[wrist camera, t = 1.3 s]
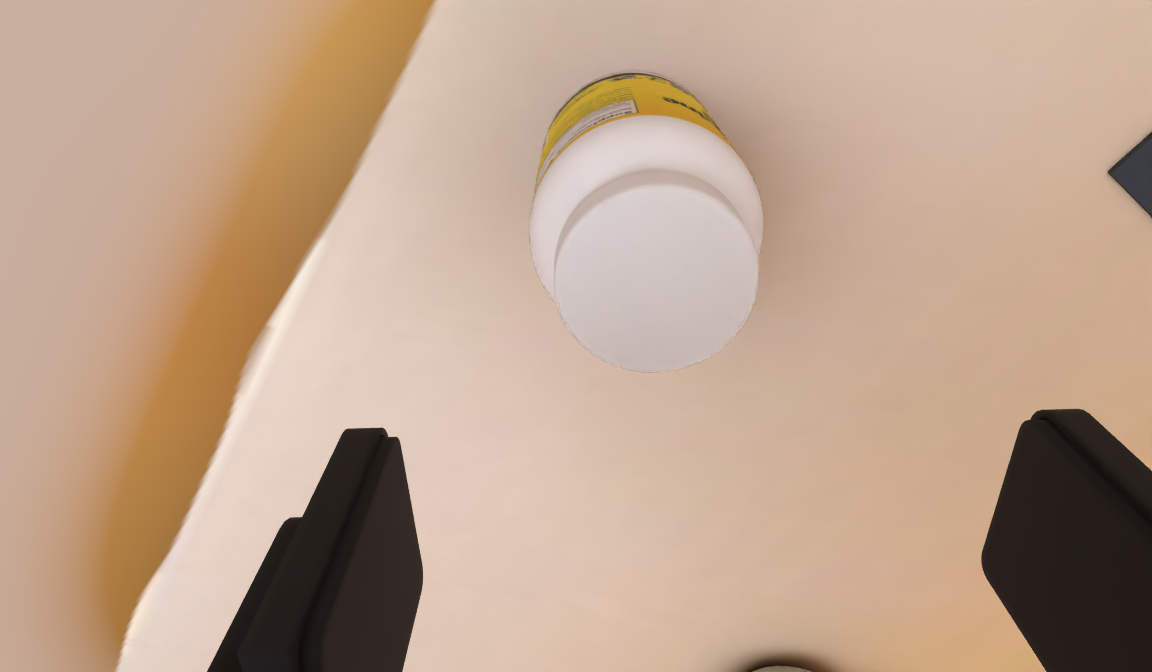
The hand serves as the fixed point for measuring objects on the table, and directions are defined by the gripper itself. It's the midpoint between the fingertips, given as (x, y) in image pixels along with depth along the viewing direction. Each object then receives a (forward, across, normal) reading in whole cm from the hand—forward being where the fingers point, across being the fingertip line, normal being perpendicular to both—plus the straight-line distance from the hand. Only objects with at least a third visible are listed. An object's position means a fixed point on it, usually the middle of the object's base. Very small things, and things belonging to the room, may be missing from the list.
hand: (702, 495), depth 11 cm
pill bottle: (+18, 0, -1) cm, 18 cm away
